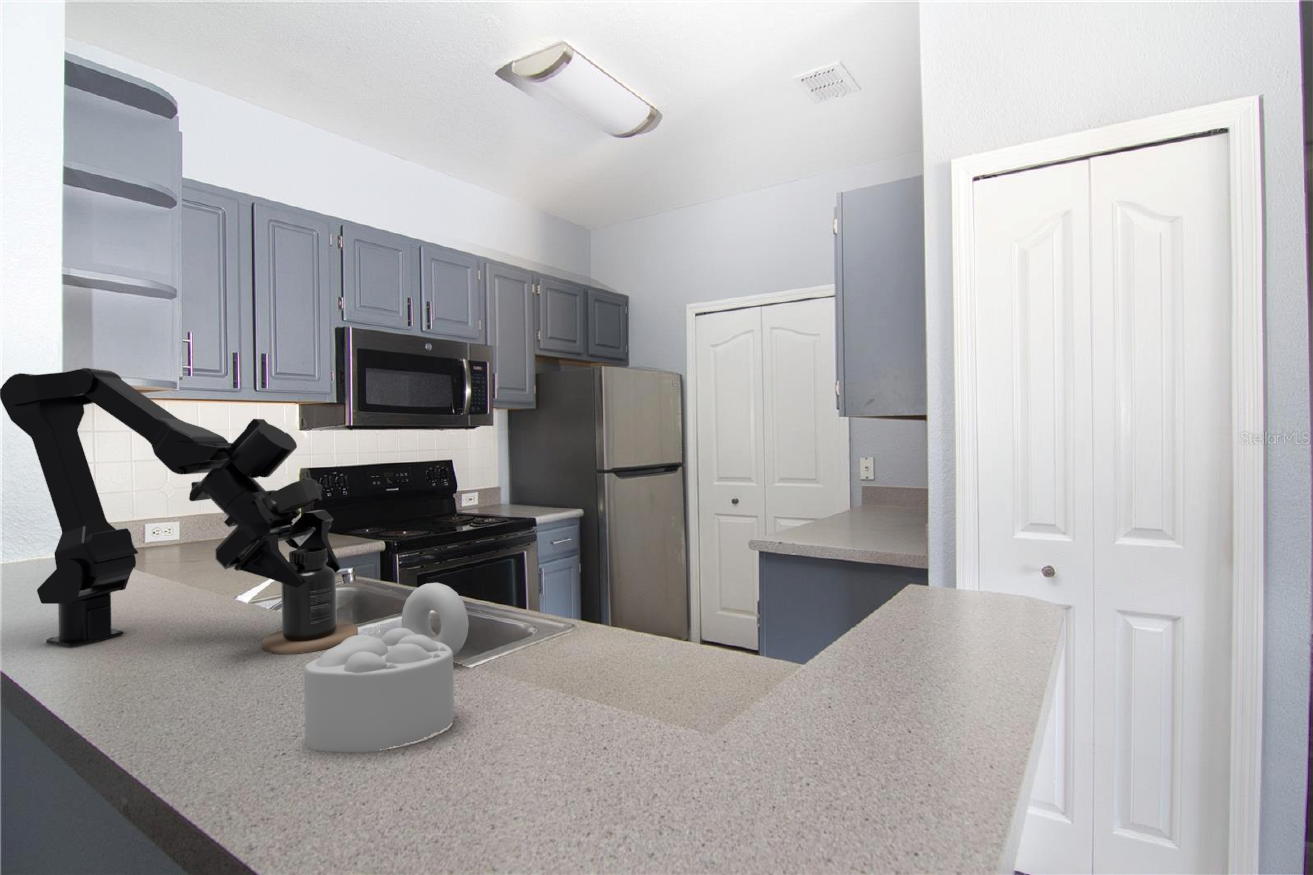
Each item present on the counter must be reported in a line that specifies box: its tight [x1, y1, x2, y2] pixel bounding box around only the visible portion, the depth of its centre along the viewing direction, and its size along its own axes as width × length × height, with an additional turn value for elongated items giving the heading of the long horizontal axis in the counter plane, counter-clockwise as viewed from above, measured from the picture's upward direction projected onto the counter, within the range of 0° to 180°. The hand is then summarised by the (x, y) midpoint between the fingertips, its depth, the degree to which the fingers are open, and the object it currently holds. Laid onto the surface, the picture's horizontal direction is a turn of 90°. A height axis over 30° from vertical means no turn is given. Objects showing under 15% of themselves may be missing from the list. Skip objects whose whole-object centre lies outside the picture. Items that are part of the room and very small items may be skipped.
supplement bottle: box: [280, 548, 338, 641], centre depth 91 cm, size 7×7×12 cm
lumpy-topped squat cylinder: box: [303, 627, 455, 753], centre depth 63 cm, size 10×13×9 cm
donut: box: [401, 582, 470, 657], centre depth 81 cm, size 10×3×10 cm, turn 65°
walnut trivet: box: [261, 621, 359, 655], centre depth 91 cm, size 12×12×1 cm
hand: (320, 577), depth 91 cm, fingers open, 9 cm apart
